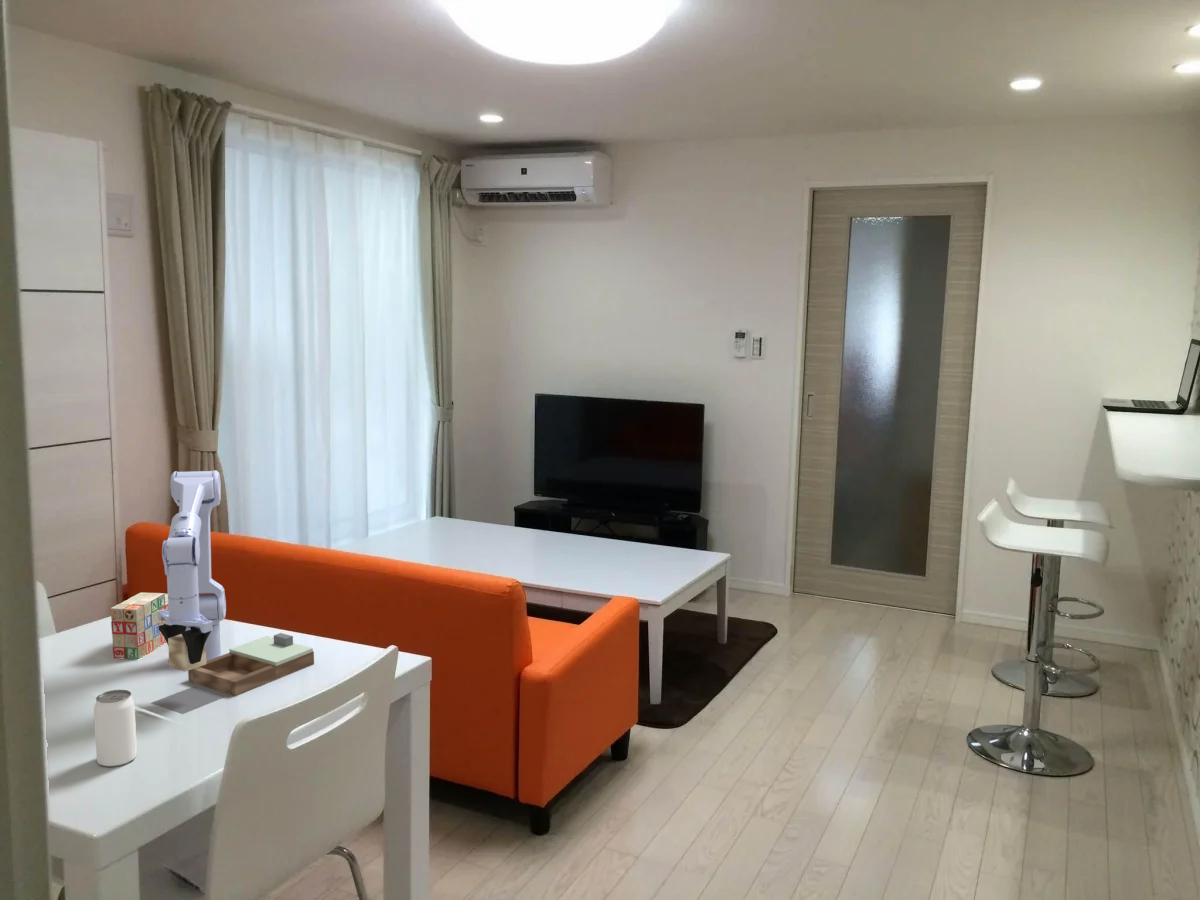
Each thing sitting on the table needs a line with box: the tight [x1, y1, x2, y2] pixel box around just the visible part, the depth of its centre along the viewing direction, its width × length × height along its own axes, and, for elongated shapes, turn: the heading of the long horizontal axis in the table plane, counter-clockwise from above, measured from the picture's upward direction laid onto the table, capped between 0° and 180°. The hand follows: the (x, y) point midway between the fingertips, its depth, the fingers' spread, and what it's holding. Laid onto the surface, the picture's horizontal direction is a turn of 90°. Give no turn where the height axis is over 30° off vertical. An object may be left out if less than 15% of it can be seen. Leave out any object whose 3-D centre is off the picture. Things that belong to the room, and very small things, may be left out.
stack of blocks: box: [110, 592, 169, 660], centre depth 231 cm, size 21×6×12 cm, turn 174°
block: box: [167, 634, 206, 672], centre depth 197 cm, size 5×5×6 cm
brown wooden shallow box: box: [187, 650, 315, 697], centre depth 214 cm, size 15×22×4 cm
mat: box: [151, 686, 225, 715], centre depth 199 cm, size 10×10×1 cm
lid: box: [228, 632, 314, 666], centre depth 218 cm, size 15×10×3 cm
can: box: [93, 689, 138, 768], centre depth 173 cm, size 6×6×12 cm
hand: (186, 659), depth 197 cm, fingers closed on block, 5 cm apart
